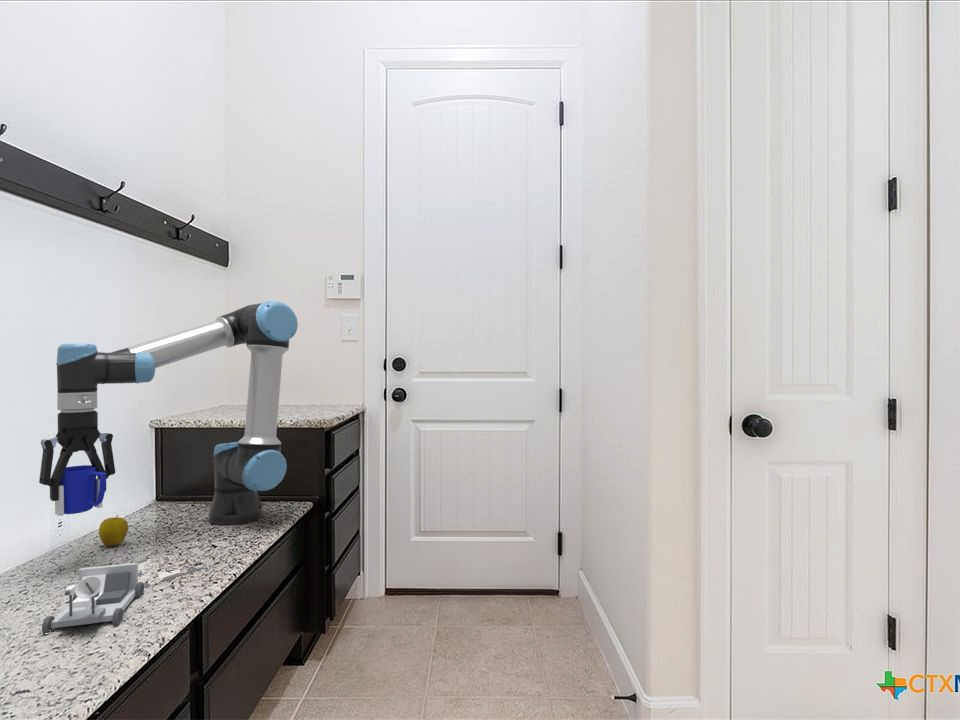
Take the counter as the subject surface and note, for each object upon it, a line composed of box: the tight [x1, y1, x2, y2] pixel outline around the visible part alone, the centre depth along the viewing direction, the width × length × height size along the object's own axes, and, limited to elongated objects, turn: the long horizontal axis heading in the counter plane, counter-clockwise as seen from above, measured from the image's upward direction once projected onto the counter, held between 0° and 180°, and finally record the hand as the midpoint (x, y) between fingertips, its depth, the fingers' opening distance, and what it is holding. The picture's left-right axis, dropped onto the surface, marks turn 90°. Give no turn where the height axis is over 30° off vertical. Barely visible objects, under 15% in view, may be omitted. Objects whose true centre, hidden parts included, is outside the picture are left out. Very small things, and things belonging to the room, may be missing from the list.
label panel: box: [133, 559, 208, 589], centre depth 127 cm, size 16×18×1 cm
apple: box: [98, 514, 129, 547], centre depth 146 cm, size 6×6×8 cm
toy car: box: [41, 562, 145, 635], centre depth 105 cm, size 18×10×12 cm
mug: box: [59, 464, 107, 515], centre depth 130 cm, size 8×12×10 cm
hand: (79, 510), depth 129 cm, fingers closed on mug, 7 cm apart
